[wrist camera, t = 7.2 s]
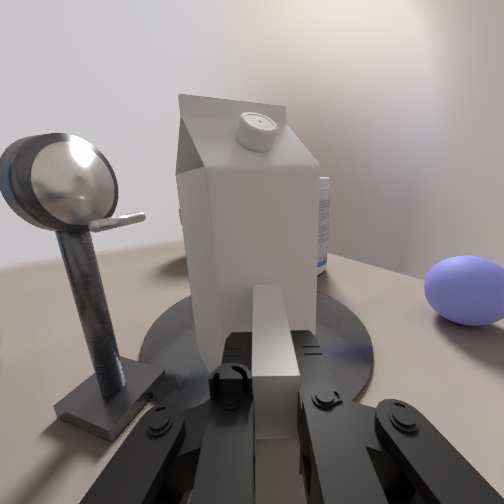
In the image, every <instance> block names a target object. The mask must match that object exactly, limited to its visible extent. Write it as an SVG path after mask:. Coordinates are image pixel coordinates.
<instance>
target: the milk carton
mask: <svg viewBox="0 0 504 504" xmlns="http://www.w3.org/2000/svg"><path fill="white" fill-rule="evenodd" d="M178 98H179V107H180V116H181V118H180V129H179V130H180V131H179V142H178V152H177V164H176V180H177V188H178V196H179V204H180V212H181V220H182V227H183V235H184V243H185V251H186V259H187V267H188V275H189V282H190V290H191V298H192V306H193V314H194V322H195V330H196V337H197V345H198V351H199V353H200V355H201V357H202V359H203V361H204V363H205V365H206V368H207V370H208V372H209V374H211V372H212V371H213V370H215V369H216V368H217V367H218V366H220V365H221V362H222V357H223V351H224V345H225V340H226V338H227V337H228V336H229V335H230V333H231V332H252V330H253V285H262V284H280V288H281V293H282V297H283V302H284V306H285V311H286V315H287V320H288V324H289V329H290V330H309V331H310V332H311V333H312V334H313V335H315V332H316V296H317V261H318V225H319V189H320V164H319V163H318V162H317V160H316V159H315V158H314V157H313V156H312V154H311V153H310V152H309V151H308V150H307V148H306V147H305V146H304V145H303V144H302V143H301V141H300V140H299V139H298V138H297V136H296V135H295V134H294V133H293V132H292V130H291V129H290V128H289V127H288V126H287V125H286V107H285V106H277V105H269V104H260V103H252V102H244V101H235V100H227V99H219V98H210V97H202V96H193V95H185V94H179V96H178Z"/></svg>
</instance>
